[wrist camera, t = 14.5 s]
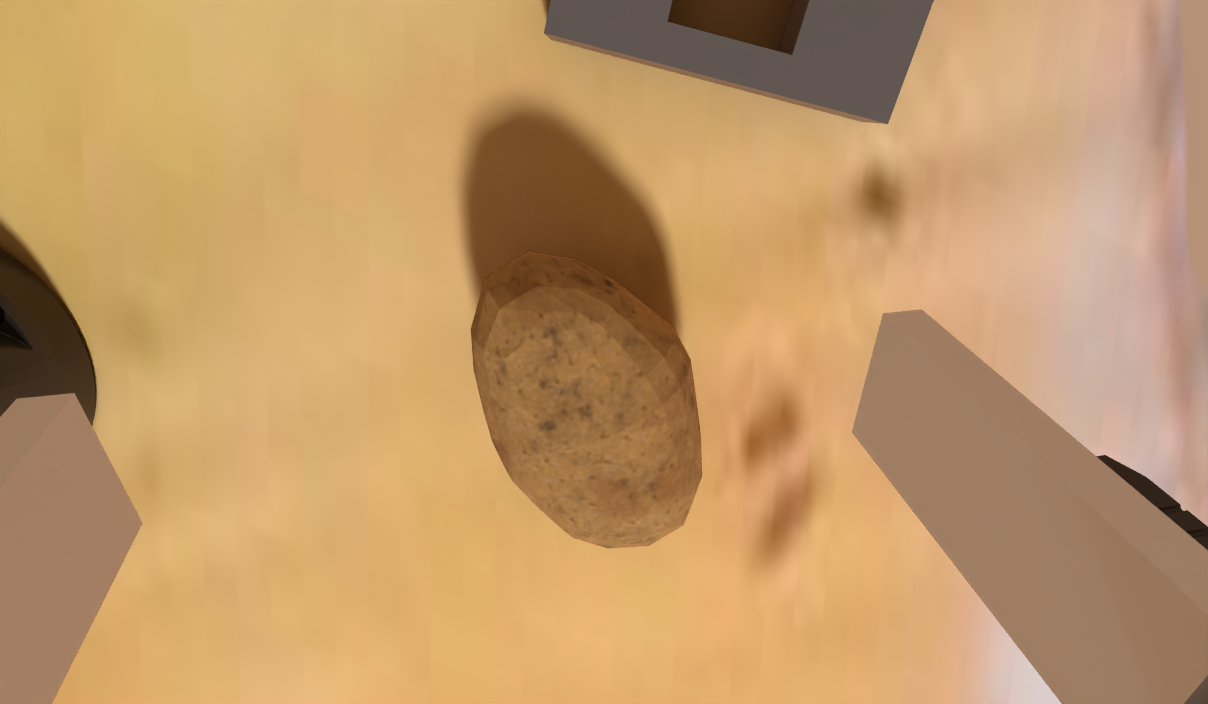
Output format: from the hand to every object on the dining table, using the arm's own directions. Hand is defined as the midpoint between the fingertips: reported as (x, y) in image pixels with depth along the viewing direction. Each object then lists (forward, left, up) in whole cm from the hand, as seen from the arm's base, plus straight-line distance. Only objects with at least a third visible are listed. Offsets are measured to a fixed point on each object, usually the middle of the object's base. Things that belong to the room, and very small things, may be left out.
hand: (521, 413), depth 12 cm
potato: (+2, -7, -21) cm, 23 cm away
